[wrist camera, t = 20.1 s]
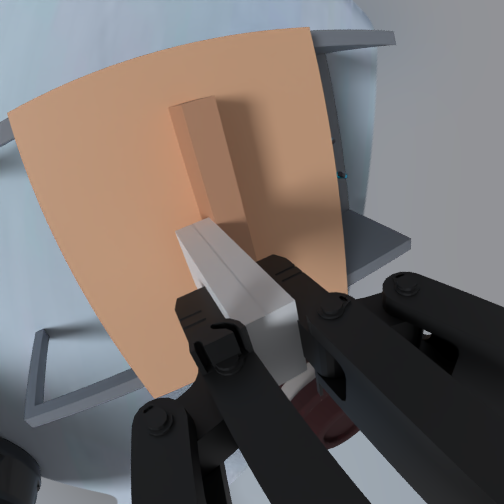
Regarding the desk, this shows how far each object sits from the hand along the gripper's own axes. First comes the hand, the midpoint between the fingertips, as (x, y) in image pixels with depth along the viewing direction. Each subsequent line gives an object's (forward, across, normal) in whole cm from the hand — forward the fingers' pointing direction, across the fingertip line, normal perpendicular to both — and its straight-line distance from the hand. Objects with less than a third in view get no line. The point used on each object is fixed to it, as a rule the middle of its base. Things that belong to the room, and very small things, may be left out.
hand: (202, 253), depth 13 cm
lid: (+3, +1, 0) cm, 3 cm away
